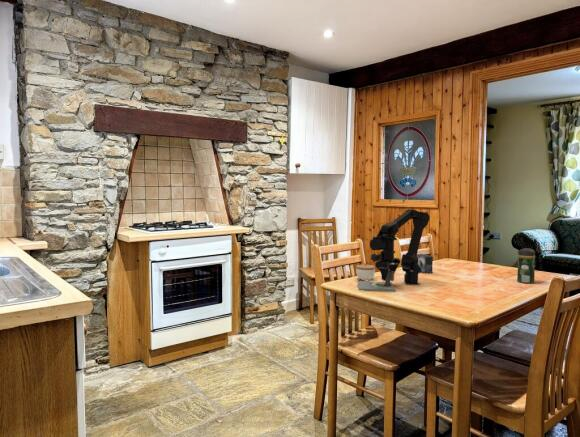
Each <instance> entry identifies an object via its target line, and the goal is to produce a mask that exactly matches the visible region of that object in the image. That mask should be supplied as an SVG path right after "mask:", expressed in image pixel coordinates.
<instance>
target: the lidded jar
mask: <svg viewBox="0 0 580 437" xmlns="http://www.w3.org/2000/svg"><path fill="white" fill-rule="evenodd" d="M355 272H356V276H357V278H358V279H359V280H360V279H362V280H370V281H372V280H373V278H374V277H375V273H376V267H375V265H372V264H368V263H366V262H365V263H364V264H357V265H355ZM362 280H361V281H362Z"/></svg>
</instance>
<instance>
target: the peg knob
mask: <svg viewBox="0 0 580 437" xmlns="http://www.w3.org/2000/svg"><path fill="white" fill-rule="evenodd" d="M381 280H382V281H378V280H377V281H376V280H370V281H369V282H373V283H380V284H384V285H386V286H391V285H392V284H393V283H392V284H391V283H390V282H393V281H395V273H394V271H390V270H389V271H388V274H387V277H386V280H385V281H383V279H382V276H381ZM384 282H385V283H384Z"/></svg>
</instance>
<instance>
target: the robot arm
mask: <svg viewBox="0 0 580 437" xmlns="http://www.w3.org/2000/svg"><path fill="white" fill-rule="evenodd" d="M430 218H431V217H430V214H429V212H426V211H419V210H417V209H411V208H408V209H406V210H405V211H404V212H403V213H402V214H401V215H399V216H398V217H397V218H395V219H394V220H392V221H389V222H386V223H384V224H382V226H380V229H379V230H378V233H377V234H376V236H372V239H371V240H370V242H369V247H370V249H371V250H372V251H380V253H379V254H378V253H373V254H371V255H370V260H371V261H372V262H373V263H374V266H375V269H377V270H379V272H380V275H381V277H382V279H383V280H382V282H385V280H386V277H387V274H388V271H389V270H390V271H394V274H395V273H396V271H397V269H398V267H399V266H400V267H401V269H402V272H404V275H403V276H404V277H403V283H405V285H415V286H416V285H419V284H420V283H419V274H422V273H421V270H422V269H421V268H420V266H419V265H418V257H417V254H418V251H419V248H420V243H421V240H422V236H423V232H424V229H425V228H426V227H427V226H428V225H429V222H430ZM410 220H411V221H412V225H413V226H412V227H413V229H412V234H411V237H410V240H409V245H408V248H407V252H406V253H404V254H402V256H401V259H400V258H399V257H395V254H396V250H395V241H397V240H398V238H397V237H396V235H397V233H398V232H399V230H400V229H401V227H402V226H404V225H405V224H406V223H408V222H409V221H410Z"/></svg>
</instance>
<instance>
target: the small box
mask: <svg viewBox="0 0 580 437" xmlns="http://www.w3.org/2000/svg"><path fill="white" fill-rule="evenodd" d="M417 257H418V265H419V266H420V268H421V269H422V270H421V273H420V274H424V273H425V274H424V275H426V273H428V274H433V259H434V256H433V255H429V254H424V253H417Z"/></svg>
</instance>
